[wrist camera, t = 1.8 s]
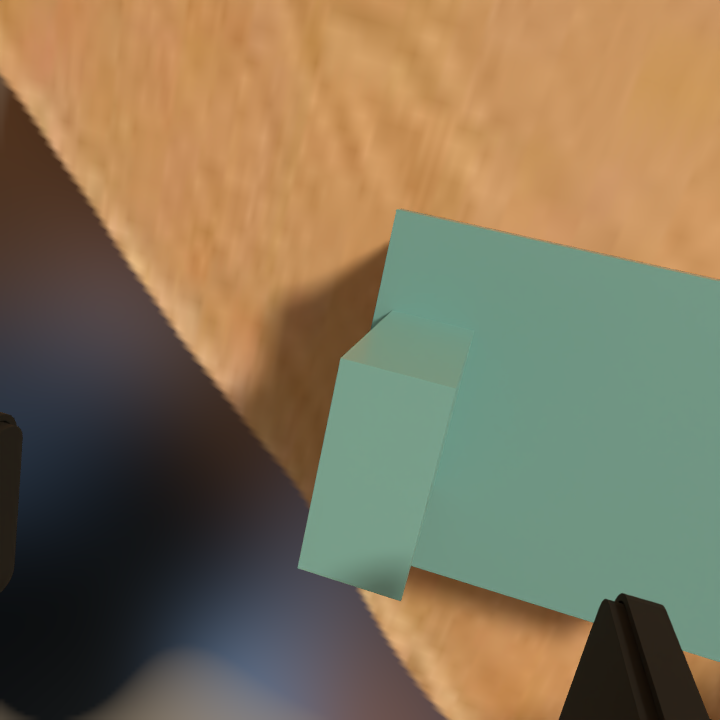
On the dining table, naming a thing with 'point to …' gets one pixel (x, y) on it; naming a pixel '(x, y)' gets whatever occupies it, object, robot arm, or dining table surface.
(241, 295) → the dining table surface
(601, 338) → the lid
